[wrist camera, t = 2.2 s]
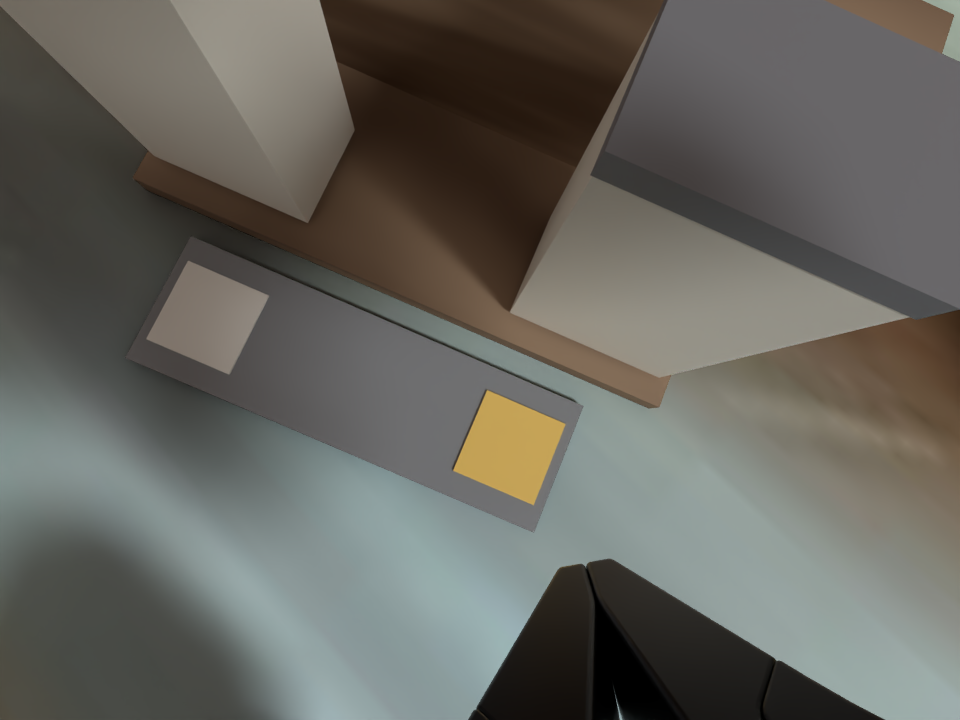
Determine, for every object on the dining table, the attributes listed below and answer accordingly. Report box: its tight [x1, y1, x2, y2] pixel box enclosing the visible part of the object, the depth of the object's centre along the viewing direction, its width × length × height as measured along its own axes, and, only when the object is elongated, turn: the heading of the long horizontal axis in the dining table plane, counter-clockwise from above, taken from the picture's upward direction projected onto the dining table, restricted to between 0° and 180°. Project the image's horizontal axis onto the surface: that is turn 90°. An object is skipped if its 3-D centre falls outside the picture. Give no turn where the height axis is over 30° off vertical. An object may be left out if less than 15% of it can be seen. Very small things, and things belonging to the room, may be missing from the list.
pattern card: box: [125, 236, 583, 532], centre depth 20 cm, size 5×16×1 cm, turn 67°
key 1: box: [0, 0, 355, 223], centre depth 14 cm, size 4×6×12 cm
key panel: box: [133, 0, 954, 408], centre depth 17 cm, size 10×21×10 cm, turn 67°
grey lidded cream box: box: [510, 0, 960, 378], centre depth 14 cm, size 4×6×12 cm
